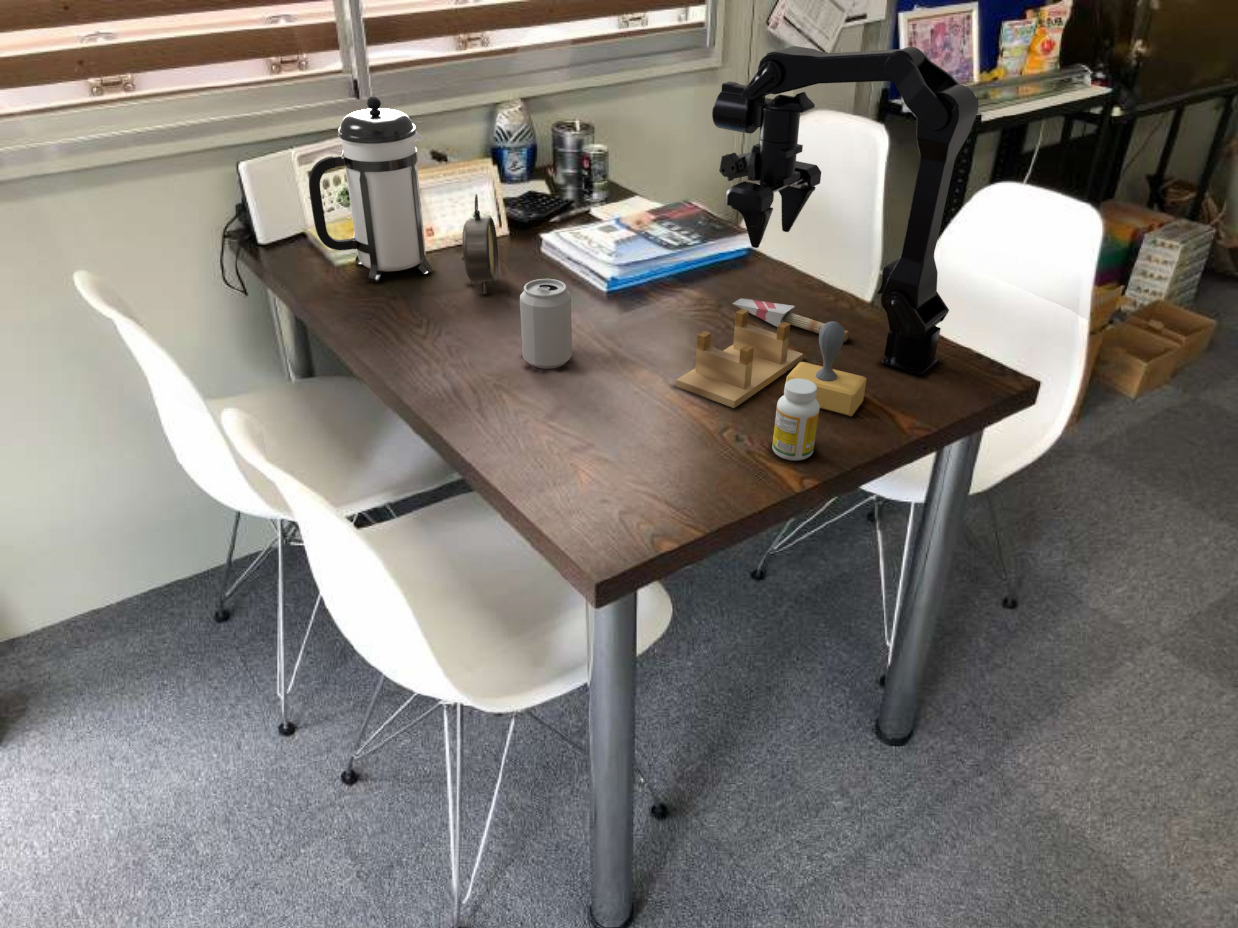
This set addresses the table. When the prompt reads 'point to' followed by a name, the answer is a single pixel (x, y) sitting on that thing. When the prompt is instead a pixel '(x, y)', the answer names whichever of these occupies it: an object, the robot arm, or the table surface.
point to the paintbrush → (780, 315)
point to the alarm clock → (480, 249)
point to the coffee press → (377, 190)
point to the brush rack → (740, 363)
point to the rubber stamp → (832, 375)
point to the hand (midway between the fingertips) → (770, 239)
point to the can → (546, 323)
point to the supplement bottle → (796, 420)
